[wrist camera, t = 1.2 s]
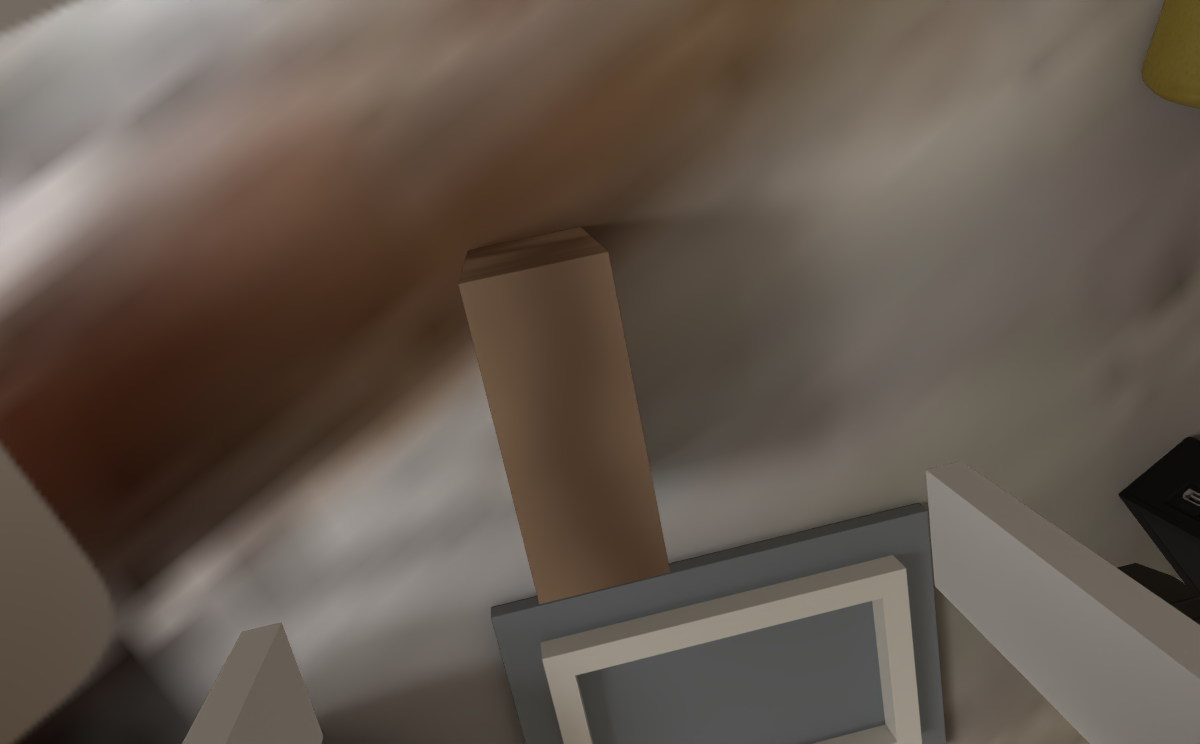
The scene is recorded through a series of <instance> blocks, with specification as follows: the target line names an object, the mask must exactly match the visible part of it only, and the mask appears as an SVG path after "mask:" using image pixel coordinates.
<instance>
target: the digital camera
mask: <svg viewBox="0 0 1200 744" xmlns="http://www.w3.org/2000/svg"><path fill="white" fill-rule="evenodd" d="M1130 494H1131V495H1130ZM1132 495H1133V496H1132ZM1119 496H1120V498H1121V499H1122V500H1123V502H1124V503H1125V504H1126V506H1127V507H1128V508H1129V510H1130V511H1131V512H1132V514H1133V515H1134V516H1135V518H1136V519H1137V520H1138V522H1139V523H1140V524H1141V526H1142V527H1143V528H1144V530H1145V531H1146V532H1147V534H1148V535H1149V536H1150V538H1151V539H1152V540H1153V542H1154V543H1155V544H1156V546H1157V547H1158V548H1159V550H1160V551H1161V552H1162V554H1163V555H1164V556H1165V558H1166V559H1167V560H1168V561H1169V563H1170V564H1171V565H1172V567H1173V568H1174V569H1175V571H1176V572H1177V573H1178V575H1179V576H1180V577H1181V579H1182V580H1183V581H1184V583H1185V584H1186V585H1187V586H1188V587H1190V588H1192V589H1193V590H1195V591H1196V592H1198V593H1199V594H1200V440H1197V439H1195V438H1192V437H1187V438H1186V439H1184V440H1183V441H1182V442H1181V443H1180V444H1178V445H1177V446H1176V447H1175V448H1174V449H1172V450H1171V451H1170V452H1169V453H1168V454H1166V455H1165V456H1164V457H1163V458H1162V459H1160V460H1159V461H1158V462H1157V463H1156V464H1154V465H1153V466H1152V467H1151V468H1150V469H1148V470H1147V471H1146V472H1145V473H1144V474H1142V475H1141V476H1140V477H1139V478H1138V479H1136V480H1135V481H1134V482H1133V483H1132V484H1130V485H1129V486H1128V487H1127V488H1126V489H1124V490H1123V491H1122V492H1120V493H1119ZM1134 496H1135V497H1134ZM1143 501H1144V502H1143ZM1145 502H1146V503H1145ZM1156 508H1157V509H1156ZM1158 509H1159V510H1158ZM1169 515H1170V516H1169Z"/></svg>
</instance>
